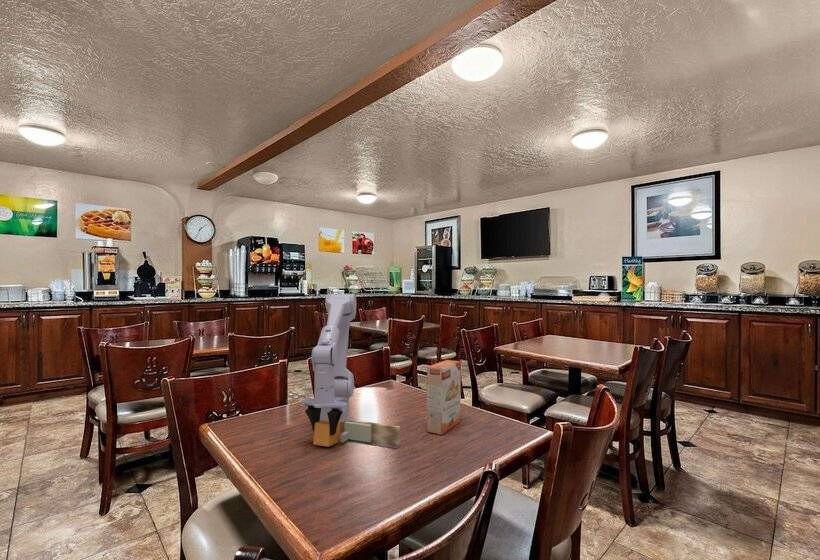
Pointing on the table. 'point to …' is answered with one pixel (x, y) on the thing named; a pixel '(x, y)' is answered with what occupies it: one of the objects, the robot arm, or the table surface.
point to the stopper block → (325, 433)
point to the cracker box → (443, 396)
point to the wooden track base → (378, 434)
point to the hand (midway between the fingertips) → (324, 433)
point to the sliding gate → (356, 432)
